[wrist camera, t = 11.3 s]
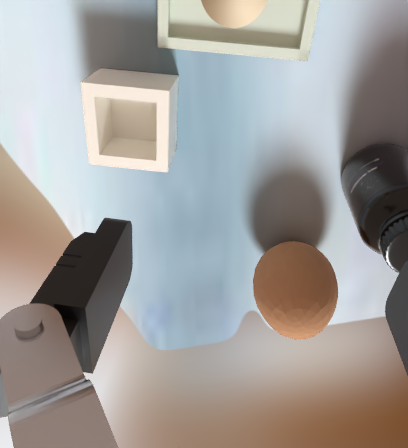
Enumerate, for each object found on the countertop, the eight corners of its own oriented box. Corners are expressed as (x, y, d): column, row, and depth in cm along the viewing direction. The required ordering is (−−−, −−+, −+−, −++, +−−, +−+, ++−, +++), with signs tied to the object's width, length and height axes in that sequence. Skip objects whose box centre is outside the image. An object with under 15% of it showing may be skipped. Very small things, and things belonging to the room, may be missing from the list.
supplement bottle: (344, 141, 36) (381, 209, 26) (421, 140, 36) (489, 209, 26) (335, 205, 40) (363, 285, 30) (404, 205, 39) (457, 287, 29)
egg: (297, 291, 47) (309, 372, 38) (238, 261, 45) (236, 339, 36) (343, 245, 43) (370, 324, 33) (280, 210, 41) (290, 283, 32)
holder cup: (178, 75, 34) (169, 91, 30) (176, 149, 38) (167, 172, 34) (100, 68, 35) (80, 82, 30) (106, 142, 39) (88, 164, 34)
